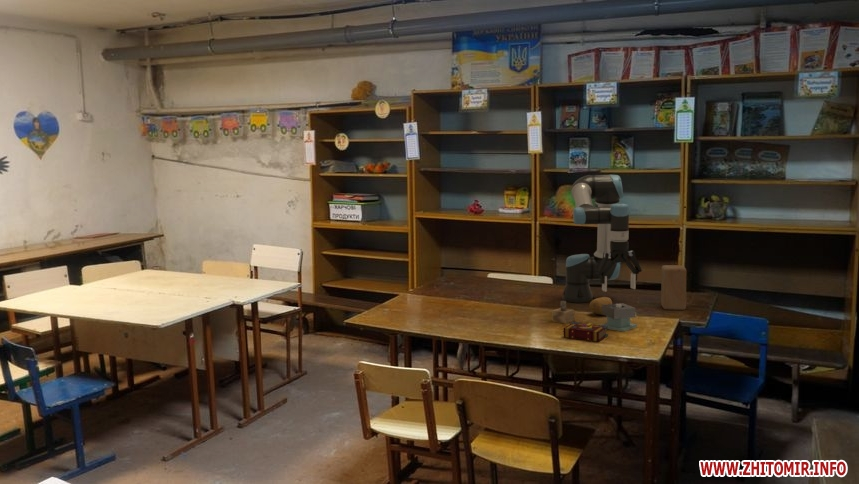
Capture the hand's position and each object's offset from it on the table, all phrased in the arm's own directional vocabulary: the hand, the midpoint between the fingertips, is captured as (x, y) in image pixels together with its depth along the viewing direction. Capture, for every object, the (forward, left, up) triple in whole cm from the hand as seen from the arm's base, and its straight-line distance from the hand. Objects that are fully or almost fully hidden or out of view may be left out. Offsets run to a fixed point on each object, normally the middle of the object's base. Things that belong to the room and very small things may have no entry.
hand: (618, 289), depth 281 cm
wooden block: (+1, +49, -16) cm, 51 cm away
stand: (-24, -6, -16) cm, 29 cm away
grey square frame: (0, 0, -11) cm, 11 cm away
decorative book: (-2, -23, -17) cm, 28 cm away
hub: (0, 0, -16) cm, 16 cm away
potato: (-18, +16, -16) cm, 29 cm away
